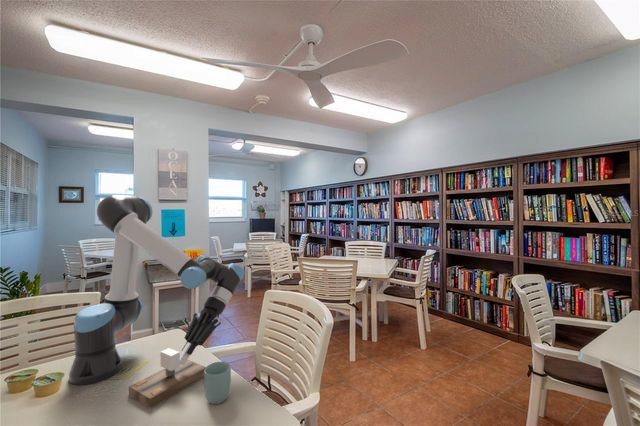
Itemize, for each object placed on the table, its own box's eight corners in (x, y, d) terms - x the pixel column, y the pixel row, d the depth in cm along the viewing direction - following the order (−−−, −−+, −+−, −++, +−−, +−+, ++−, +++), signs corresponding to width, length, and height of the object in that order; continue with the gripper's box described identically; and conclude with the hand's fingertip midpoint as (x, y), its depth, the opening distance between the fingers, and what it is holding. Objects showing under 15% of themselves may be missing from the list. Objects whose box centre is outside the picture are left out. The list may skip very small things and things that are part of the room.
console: (128, 395, 95) (128, 385, 94) (185, 366, 112) (185, 358, 112) (150, 408, 88) (150, 398, 88) (206, 375, 106) (206, 366, 106)
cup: (222, 409, 88) (222, 376, 88) (199, 406, 89) (198, 373, 89) (235, 393, 95) (235, 362, 95) (213, 390, 97) (213, 360, 97)
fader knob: (160, 374, 100) (160, 351, 100) (169, 369, 103) (168, 347, 103) (171, 379, 97) (171, 356, 97) (179, 374, 100) (179, 352, 100)
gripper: (235, 308, 115) (199, 372, 101) (212, 302, 121) (175, 362, 107) (224, 298, 110) (185, 364, 96) (200, 293, 116) (160, 354, 103)
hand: (180, 362), depth 102 cm, fingers closed
